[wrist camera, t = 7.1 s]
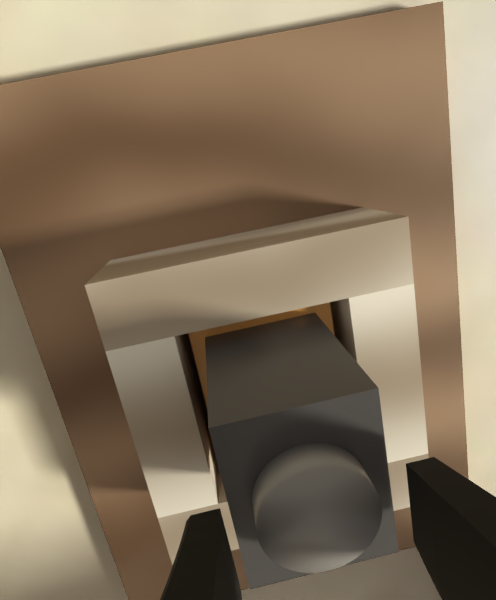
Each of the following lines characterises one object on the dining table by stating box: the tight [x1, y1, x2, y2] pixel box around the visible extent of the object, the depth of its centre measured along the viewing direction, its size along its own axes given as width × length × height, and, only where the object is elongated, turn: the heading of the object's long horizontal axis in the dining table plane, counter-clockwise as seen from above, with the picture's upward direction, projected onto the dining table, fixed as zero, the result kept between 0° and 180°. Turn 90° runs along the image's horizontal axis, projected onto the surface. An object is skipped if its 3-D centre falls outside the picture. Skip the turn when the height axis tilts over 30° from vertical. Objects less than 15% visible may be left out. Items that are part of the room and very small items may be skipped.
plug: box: [205, 313, 399, 589], centre depth 12 cm, size 4×4×6 cm
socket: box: [0, 1, 468, 600], centre depth 16 cm, size 22×16×5 cm
